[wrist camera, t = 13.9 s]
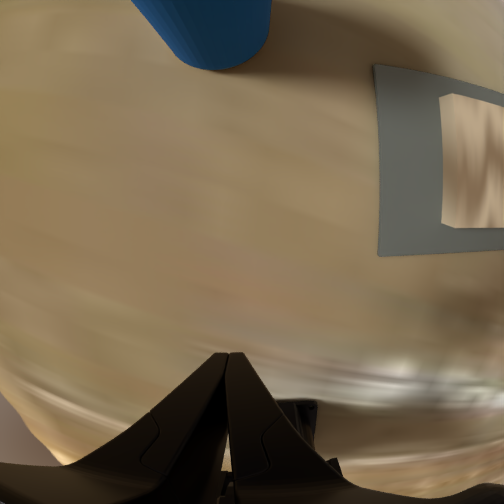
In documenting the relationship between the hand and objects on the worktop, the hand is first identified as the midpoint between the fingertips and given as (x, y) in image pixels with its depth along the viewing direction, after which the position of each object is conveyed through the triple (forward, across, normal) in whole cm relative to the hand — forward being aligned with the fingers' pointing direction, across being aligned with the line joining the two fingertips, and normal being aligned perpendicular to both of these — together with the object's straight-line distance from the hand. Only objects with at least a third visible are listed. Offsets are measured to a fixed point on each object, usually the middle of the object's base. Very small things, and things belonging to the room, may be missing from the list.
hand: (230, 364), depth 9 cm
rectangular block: (+11, -14, -6) cm, 19 cm away
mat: (+12, -16, -6) cm, 21 cm away
